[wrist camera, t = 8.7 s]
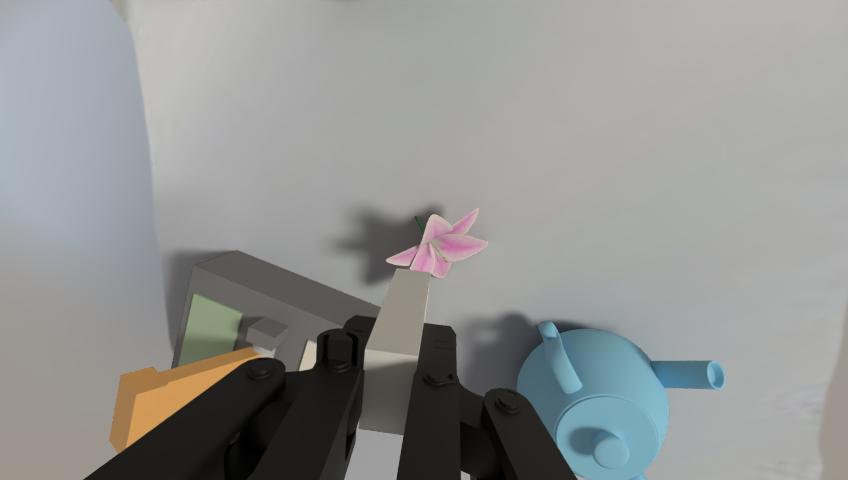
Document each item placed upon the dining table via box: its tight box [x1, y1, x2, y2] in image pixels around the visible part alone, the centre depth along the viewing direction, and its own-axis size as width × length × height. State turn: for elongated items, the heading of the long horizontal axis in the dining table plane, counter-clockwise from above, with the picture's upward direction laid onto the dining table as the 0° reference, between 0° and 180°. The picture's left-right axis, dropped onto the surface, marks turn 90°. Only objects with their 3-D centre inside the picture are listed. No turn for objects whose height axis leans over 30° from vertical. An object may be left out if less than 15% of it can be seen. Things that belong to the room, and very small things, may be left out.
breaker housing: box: [171, 250, 381, 372], centre depth 48 cm, size 22×16×11 cm
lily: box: [386, 208, 488, 279], centre depth 44 cm, size 12×12×10 cm
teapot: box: [516, 321, 725, 480], centre depth 41 cm, size 20×20×13 cm
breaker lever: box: [109, 344, 276, 454], centre depth 39 cm, size 3×7×14 cm, turn 160°
